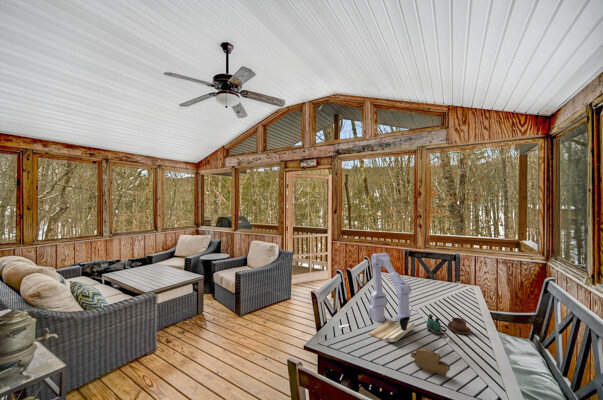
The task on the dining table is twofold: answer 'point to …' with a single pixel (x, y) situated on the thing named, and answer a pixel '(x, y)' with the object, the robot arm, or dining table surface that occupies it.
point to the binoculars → (435, 326)
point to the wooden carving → (430, 361)
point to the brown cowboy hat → (459, 326)
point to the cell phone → (343, 326)
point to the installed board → (384, 329)
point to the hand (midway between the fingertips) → (403, 329)
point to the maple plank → (397, 333)
